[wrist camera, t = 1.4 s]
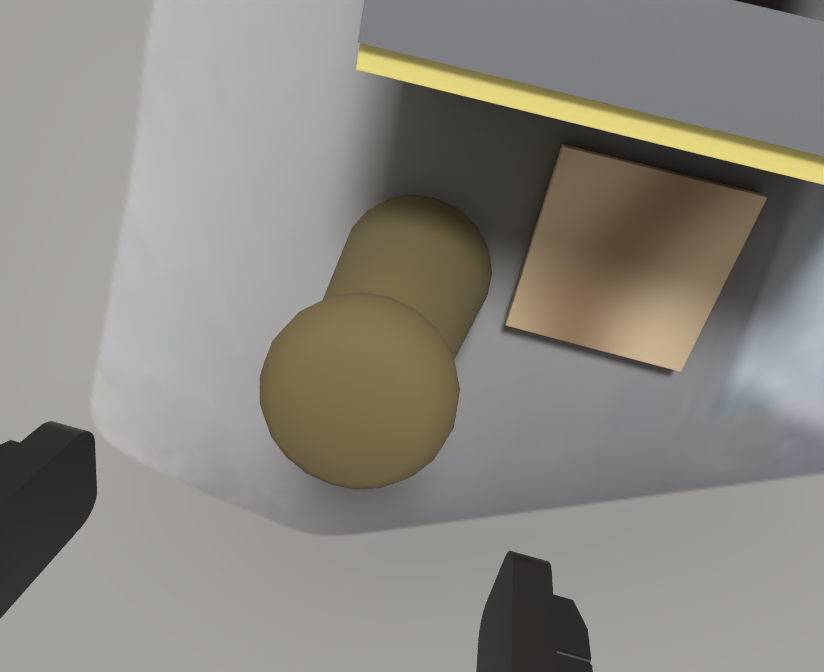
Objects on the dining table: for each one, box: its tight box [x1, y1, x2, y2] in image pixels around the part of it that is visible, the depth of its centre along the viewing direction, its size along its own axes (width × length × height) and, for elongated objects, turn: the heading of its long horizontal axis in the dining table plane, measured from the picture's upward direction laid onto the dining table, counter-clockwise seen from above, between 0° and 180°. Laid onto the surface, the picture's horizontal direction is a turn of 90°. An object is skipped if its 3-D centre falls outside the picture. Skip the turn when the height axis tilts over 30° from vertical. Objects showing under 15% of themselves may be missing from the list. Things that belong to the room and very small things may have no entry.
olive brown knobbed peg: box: [260, 195, 492, 489], centre depth 19 cm, size 6×6×11 cm
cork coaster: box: [506, 144, 767, 372], centre depth 22 cm, size 7×7×1 cm
